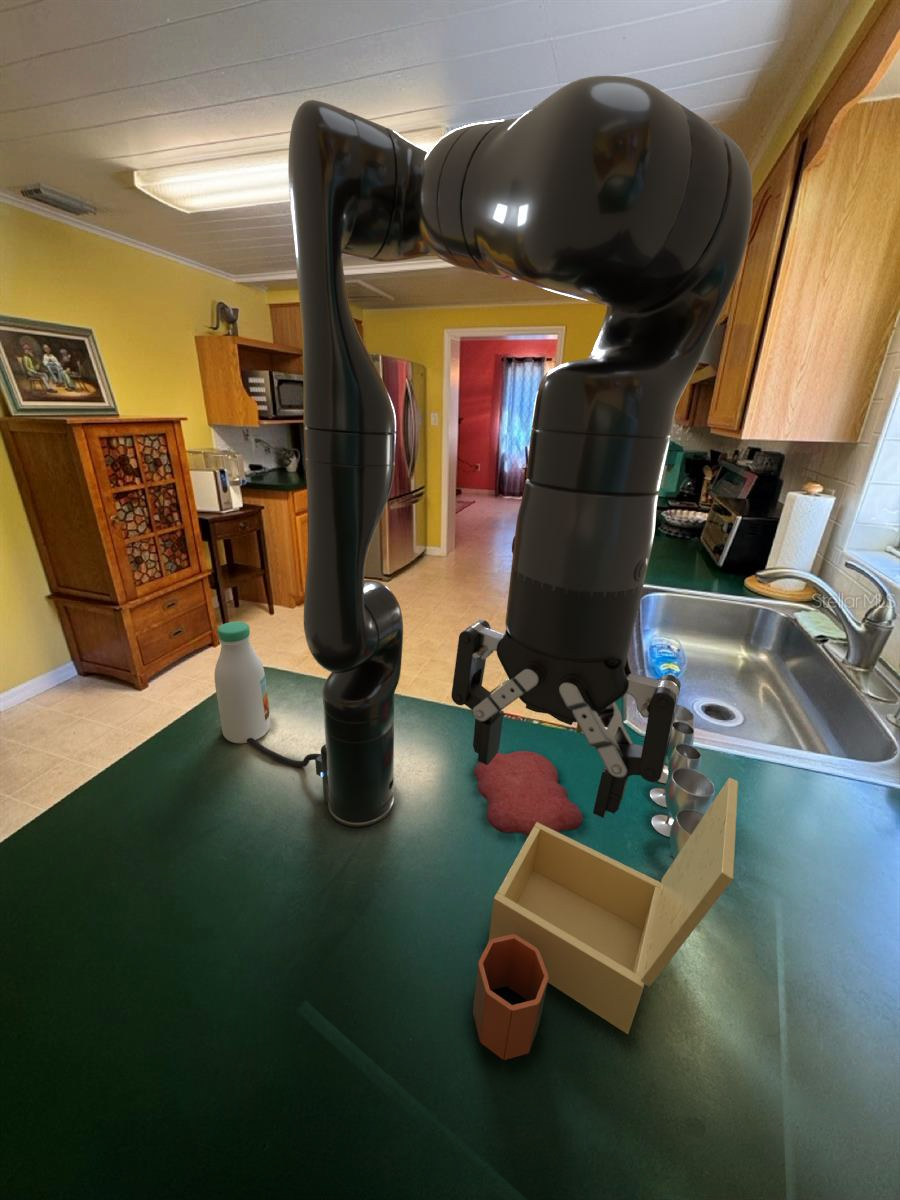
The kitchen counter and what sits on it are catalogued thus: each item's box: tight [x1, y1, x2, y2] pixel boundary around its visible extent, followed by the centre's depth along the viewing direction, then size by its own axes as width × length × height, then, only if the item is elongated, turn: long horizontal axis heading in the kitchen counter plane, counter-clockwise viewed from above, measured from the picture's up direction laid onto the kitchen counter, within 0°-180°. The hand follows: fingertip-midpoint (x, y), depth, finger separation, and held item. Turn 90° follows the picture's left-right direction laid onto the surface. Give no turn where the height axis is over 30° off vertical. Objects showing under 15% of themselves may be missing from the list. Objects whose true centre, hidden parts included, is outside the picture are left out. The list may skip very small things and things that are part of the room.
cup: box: [472, 934, 549, 1061], centre depth 43 cm, size 6×6×8 cm
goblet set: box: [649, 703, 716, 858], centre depth 65 cm, size 28×6×13 cm, turn 161°
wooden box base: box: [487, 822, 661, 1035], centre depth 50 cm, size 15×12×8 cm
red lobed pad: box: [473, 750, 584, 837], centre depth 71 cm, size 18×14×2 cm
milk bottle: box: [214, 621, 271, 744], centre depth 78 cm, size 8×8×20 cm
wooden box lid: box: [641, 777, 739, 988], centre depth 42 cm, size 16×12×1 cm
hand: (541, 781), depth 33 cm, fingers open, 8 cm apart
